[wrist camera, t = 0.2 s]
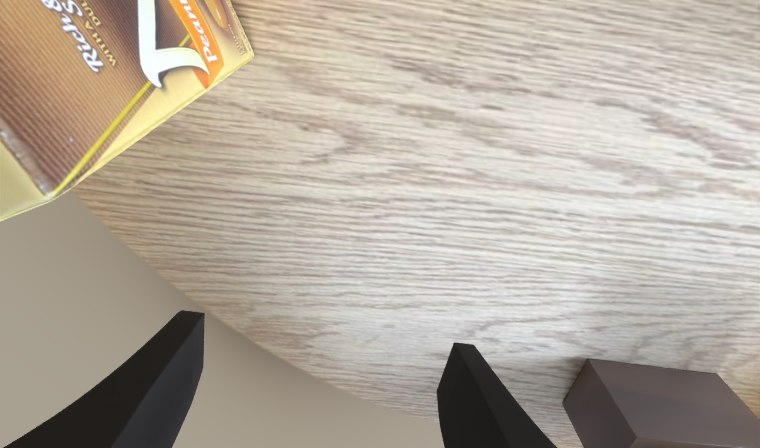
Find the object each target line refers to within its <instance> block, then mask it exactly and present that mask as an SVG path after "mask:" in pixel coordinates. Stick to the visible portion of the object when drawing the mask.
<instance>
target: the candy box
mask: <svg viewBox="0 0 760 448" xmlns="http://www.w3.org/2000/svg"><path fill="white" fill-rule="evenodd" d="M253 57H254V52H253V50H252V48H251V46H250V43H249V41H248V39H247V37H246V34H245V32H244V30H243V28H242V26H241V24H240V21H239V19H238V17H237V15H236V13H235V11H234V8H233V6H232V4H231V2H230V0H0V221H3V220H5V219H8V218H10V217H13V216H16V215H18V214H21V213H23V212H26V211H28V210H31V209H34V208H36V207H39V206H42V205H44V204H46V203H49V202H51V201H53V200H55V199H56V198H58V197H59V196H61V195H63V194H64V193H66V192H67V191H69V190H70V189H71V188H73V187H74V186H75V185H77V184H78V183H80V182H81V181H82V180H84V179H85V178H87V177H88V176H90V175H91V174H92V173H94V172H95V171H97V170H98V169H100V168H101V167H102V166H104V165H105V164H106V163H108V162H109V161H111V160H112V159H113V158H115V157H116V156H118V155H119V154H120V153H122V152H123V151H124V150H126V149H127V148H129V147H130V146H131V145H133V144H134V143H135V142H137V141H138V140H140V139H141V138H142V137H144V136H145V135H146V134H148V133H149V132H151V131H152V130H153V129H155V128H156V127H158V126H159V125H160V124H162V123H163V122H165V121H166V120H168V119H169V118H170V117H172V116H173V115H174V114H176V113H177V112H179V111H180V110H181V109H183V108H184V107H186V106H187V105H189V104H190V103H191V102H193V101H194V100H195V99H197V98H198V97H200V96H201V95H202V94H204V93H205V92H207V91H208V90H209V89H211V88H212V87H214V86H215V85H217V84H218V83H219V82H221V81H222V80H223V79H225V78H226V77H228V76H229V75H231V74H232V73H233V72H235V71H236V70H238V69H239V68H241V67H242V66H244V65H245V64H246V63H248V62H249V61H250V60H252V59H253Z"/></svg>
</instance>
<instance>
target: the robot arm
mask: <svg viewBox="0 0 760 448" xmlns="http://www.w3.org/2000/svg"><path fill="white" fill-rule="evenodd" d="M203 355H204V313H199V312H191V311H180V312H178V313H177V314H176V315H175V316H174V317H173V318H172V319H171V320H170V321H169V322H168V323H167V324H166V325H165V326H164V327H163V328H162V329H161V330H160V331H159V332H158V333H157V334H156V335H154V336H153V337H152V338H151V339H150V340H149V341H148V342H147V343H146V344H145V345H144V346H143V347H141V348H140V349H139V350H138V351H137V352H136V353H135V354H134V355H132V356H131V357H130V358H129V359H128V360H127V361H126V362H125V363H123V364H122V365H121V366H120V367H119V368H117V369H116V370H115V371H114V372H112V373H111V374H110V375H109V376H107V377H106V378H105V379H104V380H102V381H101V382H100V383H99V384H97V385H96V386H95V387H94V388H92V389H91V390H90V391H88V392H87V393H86V394H84V395H83V396H82V397H80V398H79V399H78V400H76V401H75V402H73V403H72V404H71V405H69V406H68V407H66V408H65V409H63V410H62V411H61V412H59V413H58V414H56V415H55V416H53V417H52V418H50V419H49V420H47V421H46V422H44V423H42V424H41V425H40V426H38V427H36V428H35V429H33V430H31V431H30V432H28V433H27V434H25V435H24V436H22V437H20V438H19V439H17V440H15V441H14V442H12V443H11V444H9V445H7V446H5V447H4V448H172V446H173V444H174V442H175V440H176V437H177V435H178V433H179V431H180V428H181V426H182V424H183V422H184V419H185V417H186V415H187V412H188V410H189V408H190V406H191V404H192V401H193V398H194V395H195V392H196V389H197V385H198V382H199V379H200V376H201V373H202V369H203ZM437 400H438V412H439V421H440V428H441V432H442V437H443V442H444V446H445V448H557V447H556V446H555V445H554V444H553V443H552V442H551V441H550V440H549V439H548V437H547V436H546V435H545V434H544V433H543V432H542V431H541V430H540V429H539V427H538V426H537V425H536V424H535V423H534V422H533V421H532V419H531V418H530V417H529V416H528V415H527V414H526V412H525V411H524V410H523V409H522V408H521V406H520V405H519V404H518V403H517V401H516V400H515V399H514V398H513V396H512V395H511V394H510V393H509V391H508V390H507V389H506V387H505V386H504V385H503V383H502V382H501V381H500V380H499V378H498V377H497V375H496V374H495V373H494V371H493V370H492V369H491V367H490V366H489V365H488V363H487V362H486V361H485V359H484V358H483V357H482V355H481V354H480V353H479V351H478V350H477V349H476V347H475V346H474V345H471V344H462V343H454V344H453V347H452V350H451V353H450V355H449V358H448V361H447V364H446V367H445V369H444V372H443V375H442V378H441V380H440V383H439V386H438V389H437Z"/></svg>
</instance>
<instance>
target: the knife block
mask: <svg viewBox="0 0 760 448" xmlns="http://www.w3.org/2000/svg"><path fill="white" fill-rule="evenodd" d="M563 406H564V408H565V410H566V412H567V414H568V416H569V419H570V421H571V423H572V425H573V427H574V429H575V431H576V433H577V435H578V437H579V439H580V441H581V443H582V445H583V447H584V448H760V420H759V419H758V417H757V416H756V415H755V414H754V413H753V412H752V411H751V410H750V409H749V408H748V407H747V406H746V404H745V403H744V402H743V401H742V400H741V399H740V398H739V397H738V396H737V395H736V394H735V393H734V392H733V390H732V389H731V388H730V387H729V386H728V385H727V384H726V383H725V382H724V381H723V380H722V379H721V378H720V376H719V375H717V374H710V373H702V372H694V371H685V370H677V369H669V368H661V367H652V366H644V365H636V364H628V363H619V362H611V361H603V360H595V359H587V361H586V363H585V365H584V366H583V368H582V370H581V372H580V374H579V375H578V377H577V379H576V381H575V383H574V384H573V386H572V388H571V390H570V392H569V393H568V395H567V397H566V399H565V401H564V402H563Z"/></svg>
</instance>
